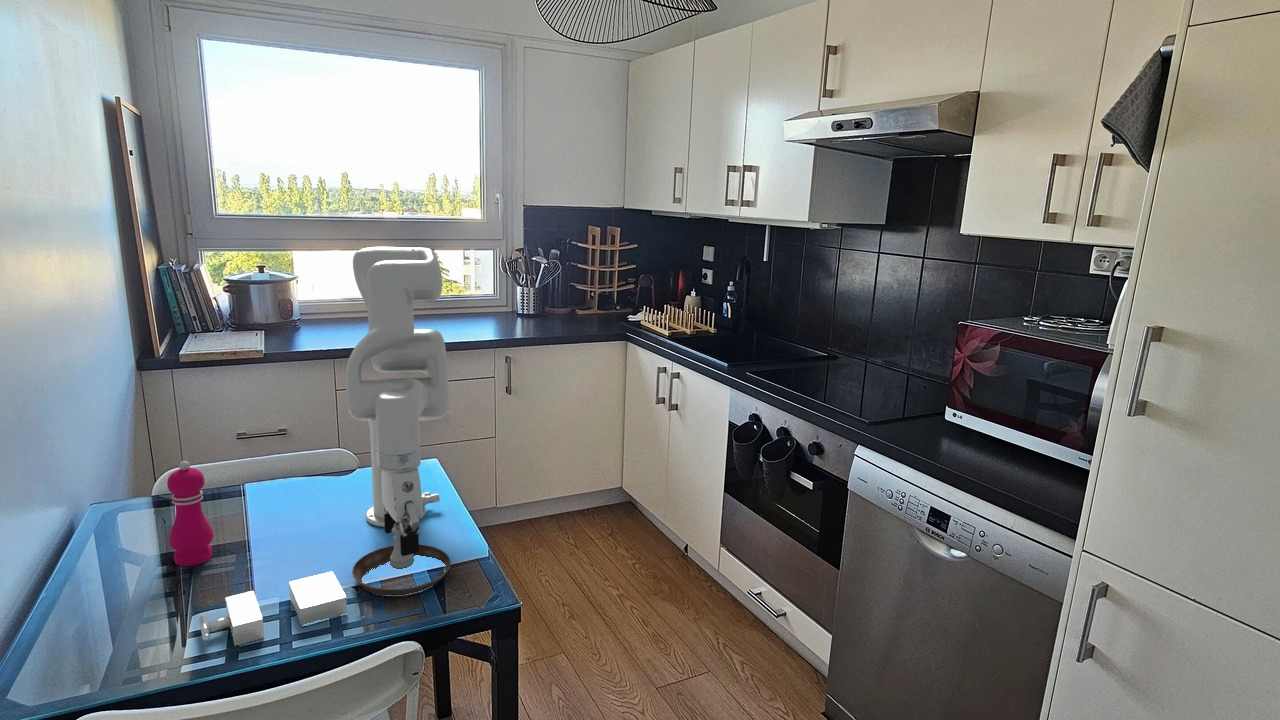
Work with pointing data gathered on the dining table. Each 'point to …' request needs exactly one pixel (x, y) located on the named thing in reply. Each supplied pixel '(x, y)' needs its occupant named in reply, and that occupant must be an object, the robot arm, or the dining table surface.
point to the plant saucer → (383, 557)
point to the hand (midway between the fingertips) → (401, 542)
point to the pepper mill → (189, 517)
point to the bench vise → (307, 596)
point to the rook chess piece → (399, 551)
